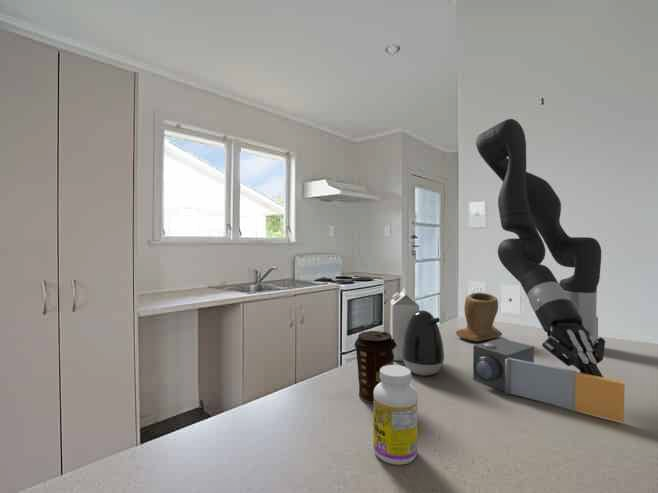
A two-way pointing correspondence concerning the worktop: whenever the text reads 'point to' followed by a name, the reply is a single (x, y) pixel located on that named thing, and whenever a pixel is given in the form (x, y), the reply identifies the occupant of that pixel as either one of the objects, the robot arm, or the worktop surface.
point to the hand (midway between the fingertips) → (598, 386)
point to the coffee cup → (372, 360)
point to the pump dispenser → (423, 344)
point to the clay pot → (480, 317)
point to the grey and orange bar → (565, 388)
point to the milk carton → (400, 319)
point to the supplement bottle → (395, 416)
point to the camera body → (497, 360)
